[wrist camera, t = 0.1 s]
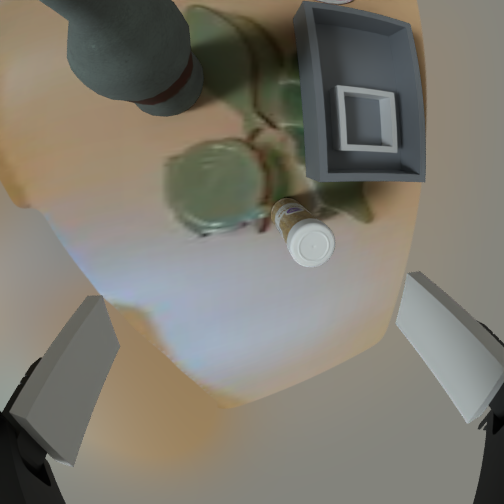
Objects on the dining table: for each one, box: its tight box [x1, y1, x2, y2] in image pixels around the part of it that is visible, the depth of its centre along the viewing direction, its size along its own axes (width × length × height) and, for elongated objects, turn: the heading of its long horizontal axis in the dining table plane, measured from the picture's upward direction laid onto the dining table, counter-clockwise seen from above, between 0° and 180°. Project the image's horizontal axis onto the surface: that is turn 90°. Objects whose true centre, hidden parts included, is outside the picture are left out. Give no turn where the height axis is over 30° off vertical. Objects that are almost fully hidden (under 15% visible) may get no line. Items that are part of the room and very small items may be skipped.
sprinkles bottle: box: [271, 198, 335, 267], centre depth 32 cm, size 5×5×14 cm
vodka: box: [39, 0, 204, 116], centre depth 17 cm, size 9×9×30 cm
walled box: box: [293, 1, 426, 182], centre depth 30 cm, size 24×16×6 cm, turn 4°
